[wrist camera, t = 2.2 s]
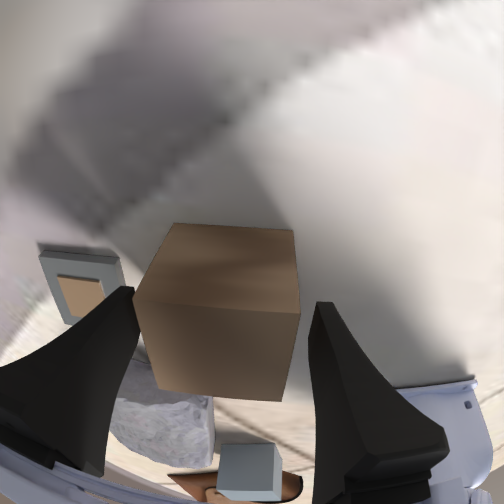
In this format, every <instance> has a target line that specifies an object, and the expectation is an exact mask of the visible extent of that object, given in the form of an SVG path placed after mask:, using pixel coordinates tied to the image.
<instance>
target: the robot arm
mask: <svg viewBox="0 0 504 504" xmlns="http://www.w3.org/2000/svg"><path fill="white" fill-rule="evenodd" d="M134 294H135V289H134V287H129V286H120V287H118V288H117V289H116V290H115V291H113V292H112V293H111V294H110V295H109V296H108V297H106V298H105V299H104V300H103V301H102V302H101V303H100V304H98V305H97V306H96V307H95V308H94V309H93V310H91V311H90V312H89V313H88V314H87V315H86V316H84V317H83V318H82V319H81V320H79V321H78V322H77V323H76V324H74V325H73V326H72V327H71V328H69V329H68V330H67V331H66V332H64V333H63V334H61V335H60V336H59V337H57V338H56V339H54V340H53V341H51V342H50V343H48V344H46V345H45V346H43V347H41V348H39V349H38V350H36V351H34V352H32V353H31V354H29V355H27V356H25V357H23V358H21V359H19V360H17V361H14V362H12V363H10V364H7V365H5V366H2V367H0V492H1V493H2V494H4V495H5V496H7V497H8V498H9V499H11V500H12V501H14V502H15V503H17V504H109V503H107V502H106V501H104V500H101V499H98V498H96V497H94V496H91V495H89V494H87V493H85V492H84V491H87V492H90V493H92V494H95V495H98V496H101V497H104V498H107V499H110V500H113V501H117V502H119V503H123V504H213V503H206V502H198V501H192V500H186V499H180V498H175V497H170V496H165V495H160V494H156V493H151V492H147V491H143V490H139V489H135V488H131V487H127V486H124V485H121V484H117V483H114V482H111V481H108V480H105V479H101V478H100V477H102V476H103V475H104V465H105V454H106V446H107V440H108V433H109V428H110V423H111V418H112V413H113V409H114V405H115V401H116V397H117V394H118V391H119V388H120V385H121V383H122V380H123V378H124V375H125V373H126V370H127V368H128V365H129V363H130V360H131V358H132V356H133V353H134V351H135V348H136V346H137V343H138V339H139V336H140V332H141V330H140V327H139V323H138V319H137V316H136V312H135V308H134V304H133V300H132V298H133V296H134ZM308 357H309V367H310V375H311V382H312V390H313V397H314V405H315V416H316V448H315V473H314V487H313V498H312V504H493V502H492V499H491V496H490V494H489V492H487V491H483V490H482V489H477V490H475V489H474V488H476V487H477V486H479V485H480V484H481V483H482V482H483V481H484V480H485V479H486V477H487V476H488V474H489V472H490V470H491V466H492V461H493V447H492V442H491V439H490V436H489V433H488V430H487V426H486V423H485V421H484V418H483V415H482V412H481V409H480V406H479V404H478V401H477V398H476V396H475V393H474V389H475V387H476V386H477V385H478V382H477V380H469V381H463V382H456V383H450V384H442V385H435V386H426V387H417V388H407V389H394V388H393V387H392V386H391V385H390V383H389V382H388V381H387V380H386V379H385V378H384V377H383V376H382V375H381V374H380V372H379V371H378V370H377V369H376V368H375V366H374V365H373V364H372V363H371V361H370V360H369V359H368V357H367V356H366V355H365V353H364V352H363V350H362V349H361V348H360V346H359V345H358V343H357V342H356V340H355V339H354V337H353V336H352V334H351V332H350V331H349V329H348V328H347V326H346V324H345V323H344V321H343V319H342V318H341V316H340V314H339V312H338V311H337V309H336V307H335V305H334V304H333V303H332V302H316V307H315V311H314V315H313V320H312V324H311V328H310V332H309V336H308Z"/></svg>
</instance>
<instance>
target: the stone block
mask: <svg viewBox="0 0 504 504" xmlns="http://www.w3.org/2000/svg"><path fill="white" fill-rule="evenodd" d="M109 430H110V431H111V433H112V434H113V435H114V436H115V437H116V438H117V440H118V441H119V442H120V443H122V444H123V445H124V446H126V447H127V448H128V449H129V450H131V451H133V452H136V453H138V454H140V455H143V456H146V457H148V458H149V459H151V460H153V461H155V462H160V463H163V464H167V465H169V466H172V467H177V468H193V469H200V468H203V467H207V466H210V465H211V464H212V460H213V453H214V444H215V425H214V408H213V397H212V396H204V395H196V394H188V393H182V392H175V391H169V390H163V389H159V388H158V385H157V382H156V379H155V376H154V373H153V370H152V367H151V364H147V363H143V362H140V361H136V360H133V359H131V360H130V363H129V365H128V368H127V370H126V373H125V375H124V378H123V380H122V383H121V385H120V388H119V391H118V394H117V397H116V401H115V405H114V409H113V413H112V418H111V423H110V428H109Z"/></svg>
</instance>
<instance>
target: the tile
mask: <svg viewBox="0 0 504 504" xmlns="http://www.w3.org/2000/svg"><path fill="white" fill-rule="evenodd" d="M38 257H39V260H40V263H41V266H42V269H43V271H44V274H45V277H46V280H47V282H48V285H49V287H50V290H51V292H52V295H53V297H54V300H55V302H56V305H57V307H58V309H59V312H60V314H61V316H62V319H63V321H64V323H65V324H68V325H74V324H76V323H77V322H78V321H79V320H81V319H82V318H83V317H84V316H86V315H87V314H88V313H89V312H90V311H91V310H93V309H94V308H95V307H96V306H97V305H98V304H100V303H101V302H102V301H103V300H104V299H105V298H106V297H108V296H109V295H110V294H111V293H112V292H113V291H115V290H116V289H117V288H118V287H120V286H126V285H125V280H124V276H123V272H122V267H121V263H120V258H118V257H106V256H95V255H85V254H74V253H63V252H53V251H43V252H42V253H41V254H40V255H39V256H38Z"/></svg>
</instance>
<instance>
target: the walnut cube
mask: <svg viewBox="0 0 504 504" xmlns="http://www.w3.org/2000/svg"><path fill="white" fill-rule="evenodd" d="M132 300H133V304H134V308H135V312H136V316H137V319H138V323H139V327H140V330H141V334H142V337H143V341H144V344H145V347H146V351H147V354H148V357H149V360H150V363H151V367H152V370H153V373H154V376H155V379H156V382H157V385H158V388H159V389H163V390H169V391H175V392H182V393H188V394H196V395H204V396H212V397H221V398H232V399H243V400H257V401H275V402H282V397H283V393H284V389H285V385H286V380H287V376H288V372H289V367H290V363H291V358H292V353H293V349H294V344H295V339H296V335H297V330H298V325H299V320H300V315H301V310H300V299H299V287H298V276H297V266H296V256H295V246H294V236H293V231H292V230H279V229H265V228H250V227H235V226H219V225H202V224H184V223H174V224H173V226H172V227H171V229H170V231H169V233H168V234H167V236H166V238H165V239H164V241H163V243H162V245H161V246H160V248H159V250H158V252H157V254H156V255H155V257H154V259H153V261H152V262H151V264H150V266H149V268H148V270H147V272H146V273H145V275H144V277H143V279H142V281H141V283H140V285H139V286H138V288H137V290H136V292H135V294H134V296H133V298H132Z"/></svg>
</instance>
